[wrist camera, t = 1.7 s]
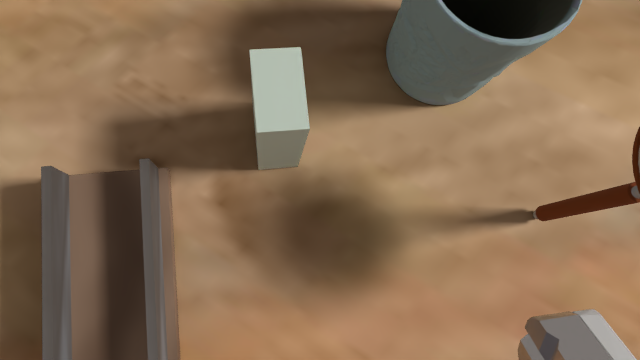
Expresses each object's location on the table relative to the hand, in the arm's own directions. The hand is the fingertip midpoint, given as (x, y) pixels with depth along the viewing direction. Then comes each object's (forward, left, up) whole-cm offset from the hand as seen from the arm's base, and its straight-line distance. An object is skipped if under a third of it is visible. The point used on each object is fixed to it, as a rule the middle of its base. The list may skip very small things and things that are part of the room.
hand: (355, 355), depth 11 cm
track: (-12, +2, -25) cm, 28 cm away
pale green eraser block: (0, +12, -25) cm, 28 cm away
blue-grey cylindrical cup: (+14, +18, -26) cm, 34 cm away
